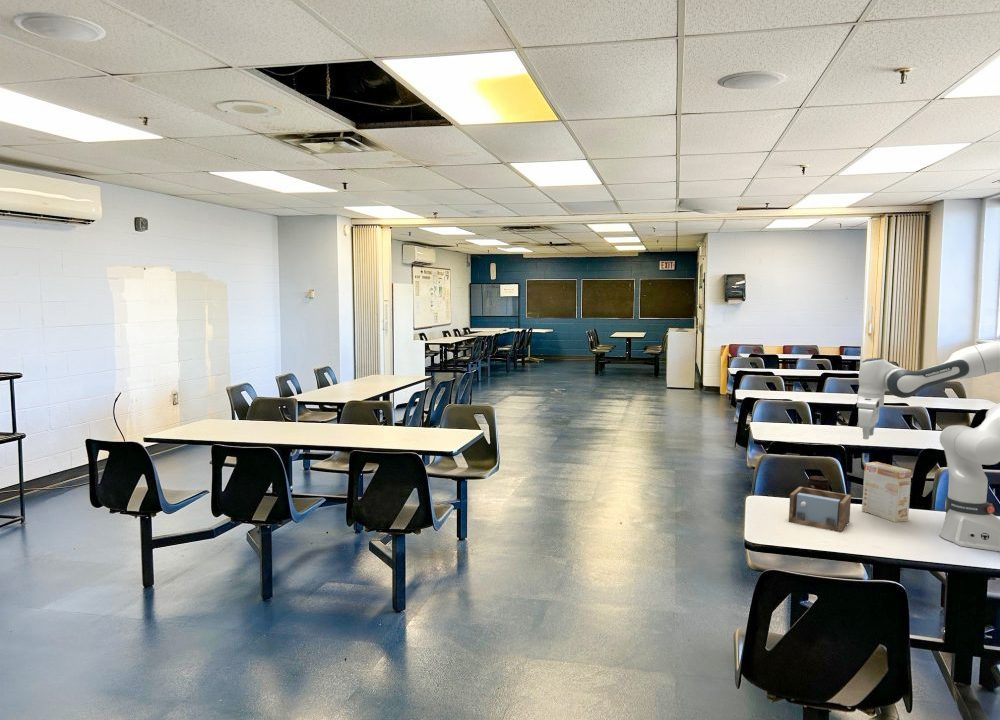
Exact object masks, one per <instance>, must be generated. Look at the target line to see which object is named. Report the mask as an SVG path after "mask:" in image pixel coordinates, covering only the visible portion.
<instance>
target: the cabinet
mask: <svg viewBox="0 0 1000 720" xmlns="http://www.w3.org/2000/svg"><path fill="white" fill-rule="evenodd" d="M798 493H804V494H810V495H816V496H822V497H827V498H833V499H839V500H840V506H839V523H838V526H834V519H831V518H826V524H823V523H818V522H813V521H807V520H804V518H805V514H804V513H799V512H797V518H796V507H797V494H798ZM851 499H852V494H848V493H847V494H846V493H840V492H833V491H830V490H829V491H823V490H817V489H811V488H808V487H804V486H798V487H797V488H796V489H795V490H793V491H792V492H791V493H789V505H788V506H789V509H788V510H789V511H788V523H793V524H798V525H802V526H808V527H813V528H819V529H823V530H828V529H829V530H828V531H833V530H834V531H833V532H838V531H840V532H839V533H842V532H843V531H844V530H845V529H846V528H847V526H848V525H849V524H850V517H851V516H850V515H851ZM848 523H849V524H848ZM847 524H848V525H847ZM845 527H846V528H845ZM844 528H845V529H844Z"/></svg>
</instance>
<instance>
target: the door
mask: <svg viewBox="0 0 1000 720" xmlns="http://www.w3.org/2000/svg"><path fill="white" fill-rule="evenodd" d="M839 506H840V500H839V499H833V498H827V497H822V496H816V495H810V494H804V493H798V494H797V507H796V518H797V512H799V513H804V514H805V518H804V520H807V521H813V522H818V523H823V524H826V518H831V519H834V526H838V523H839Z"/></svg>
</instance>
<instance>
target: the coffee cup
mask: <svg viewBox="0 0 1000 720" xmlns="http://www.w3.org/2000/svg"><path fill="white" fill-rule="evenodd" d="M806 483H807V488H811V489H817V490H823V491H829V492H830V487H829V486H831V485H832V483H831V480H830V479H829V478H828V477H826V476H820V475H811V476H809V479H807V482H806Z"/></svg>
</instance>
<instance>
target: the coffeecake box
mask: <svg viewBox="0 0 1000 720" xmlns="http://www.w3.org/2000/svg"><path fill="white" fill-rule="evenodd" d="M911 479H912V470H911V469H908V468H904V467H900V466H896V465H891V464H887V463H883V462H879V461H872V462H865V463H864V472H863V487H862V500H861V501H862V502H861V511H862V510H864V511H866V512H869V513H871V514H870V515H872V514H874V515H873V516H875V515H877V516H876V517H878V516H879V518H881V517H883V518H882V519H884V518H885V520H887V519H889V520H888V521H890V520H891V521H890V522H893V521H895V522H894V523H899V522H898V521H901V522H907V521H906V520H908V521H909V512H910V498H911V496H910V495H911V485H912V484H911V481H912V480H911ZM866 512H865V513H866ZM869 513H868V514H869Z"/></svg>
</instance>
